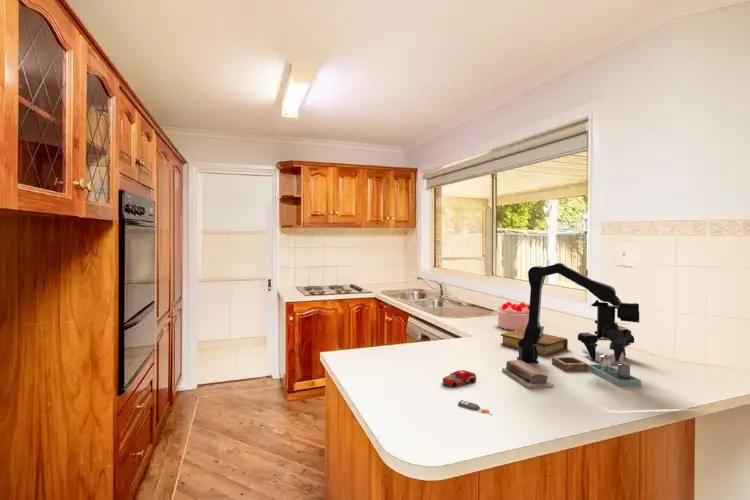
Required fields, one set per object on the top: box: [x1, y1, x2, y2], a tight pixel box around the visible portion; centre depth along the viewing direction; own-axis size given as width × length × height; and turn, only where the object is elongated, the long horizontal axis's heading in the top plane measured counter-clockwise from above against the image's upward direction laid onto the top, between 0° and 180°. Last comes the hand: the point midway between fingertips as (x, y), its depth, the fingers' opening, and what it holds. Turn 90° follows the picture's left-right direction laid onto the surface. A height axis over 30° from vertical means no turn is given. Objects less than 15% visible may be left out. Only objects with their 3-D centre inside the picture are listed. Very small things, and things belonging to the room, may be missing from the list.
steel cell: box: [598, 354, 611, 372], centre depth 140 cm, size 4×4×7 cm
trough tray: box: [586, 363, 642, 388], centre depth 136 cm, size 8×17×2 cm, turn 5°
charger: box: [580, 346, 625, 365], centre depth 159 cm, size 5×9×15 cm
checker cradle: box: [551, 356, 588, 372], centre depth 147 cm, size 9×9×3 cm
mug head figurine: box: [608, 325, 628, 358], centre depth 163 cm, size 11×7×13 cm, turn 31°
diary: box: [500, 329, 569, 357], centre depth 177 cm, size 23×19×6 cm
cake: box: [497, 301, 530, 331], centre depth 218 cm, size 20×20×14 cm
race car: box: [442, 369, 477, 388], centre depth 131 cm, size 13×5×4 cm, turn 117°
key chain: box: [457, 399, 493, 416], centre depth 110 cm, size 13×4×2 cm, turn 50°
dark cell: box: [617, 362, 631, 380], centre depth 131 cm, size 4×4×7 cm
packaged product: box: [501, 359, 555, 390], centre depth 136 cm, size 18×5×10 cm
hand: (605, 360), depth 140 cm, fingers open, 9 cm apart
